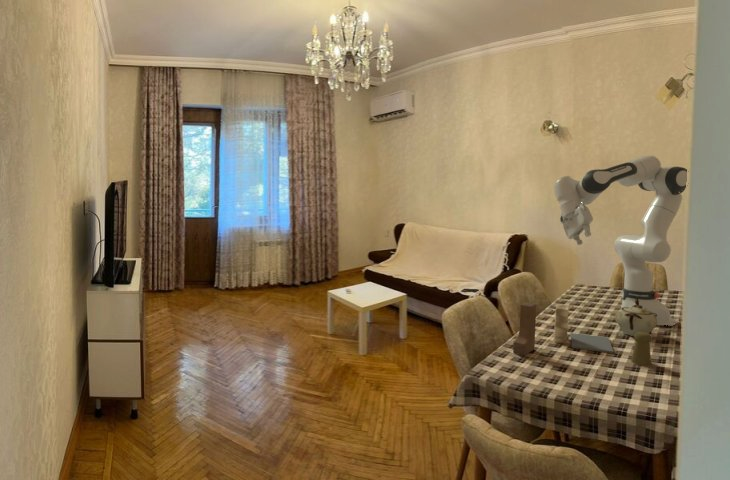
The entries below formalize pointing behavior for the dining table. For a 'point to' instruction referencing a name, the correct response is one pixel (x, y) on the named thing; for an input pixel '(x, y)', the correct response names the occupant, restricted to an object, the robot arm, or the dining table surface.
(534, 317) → the wooden block
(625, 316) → the sugar bowl
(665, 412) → the dining table surface
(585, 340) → the grey mat
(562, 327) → the pine block
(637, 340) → the olive peg figure
